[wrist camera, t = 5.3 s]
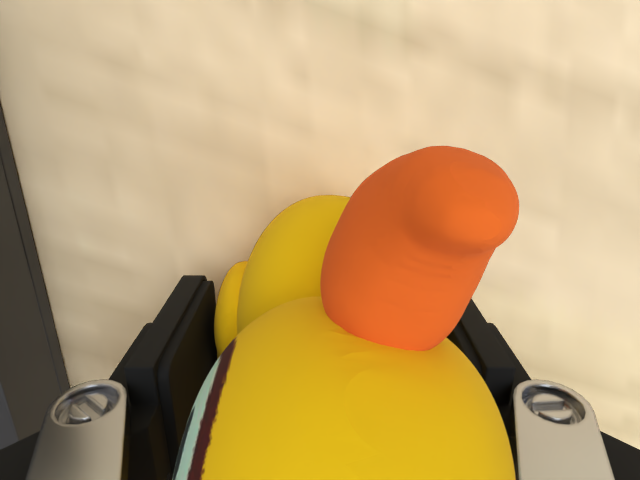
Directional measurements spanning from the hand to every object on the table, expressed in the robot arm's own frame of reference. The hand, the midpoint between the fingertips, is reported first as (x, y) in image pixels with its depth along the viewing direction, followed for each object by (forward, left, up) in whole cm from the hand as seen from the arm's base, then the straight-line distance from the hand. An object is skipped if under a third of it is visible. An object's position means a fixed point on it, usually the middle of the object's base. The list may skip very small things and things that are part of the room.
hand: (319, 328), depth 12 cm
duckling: (0, 0, -2) cm, 2 cm away
